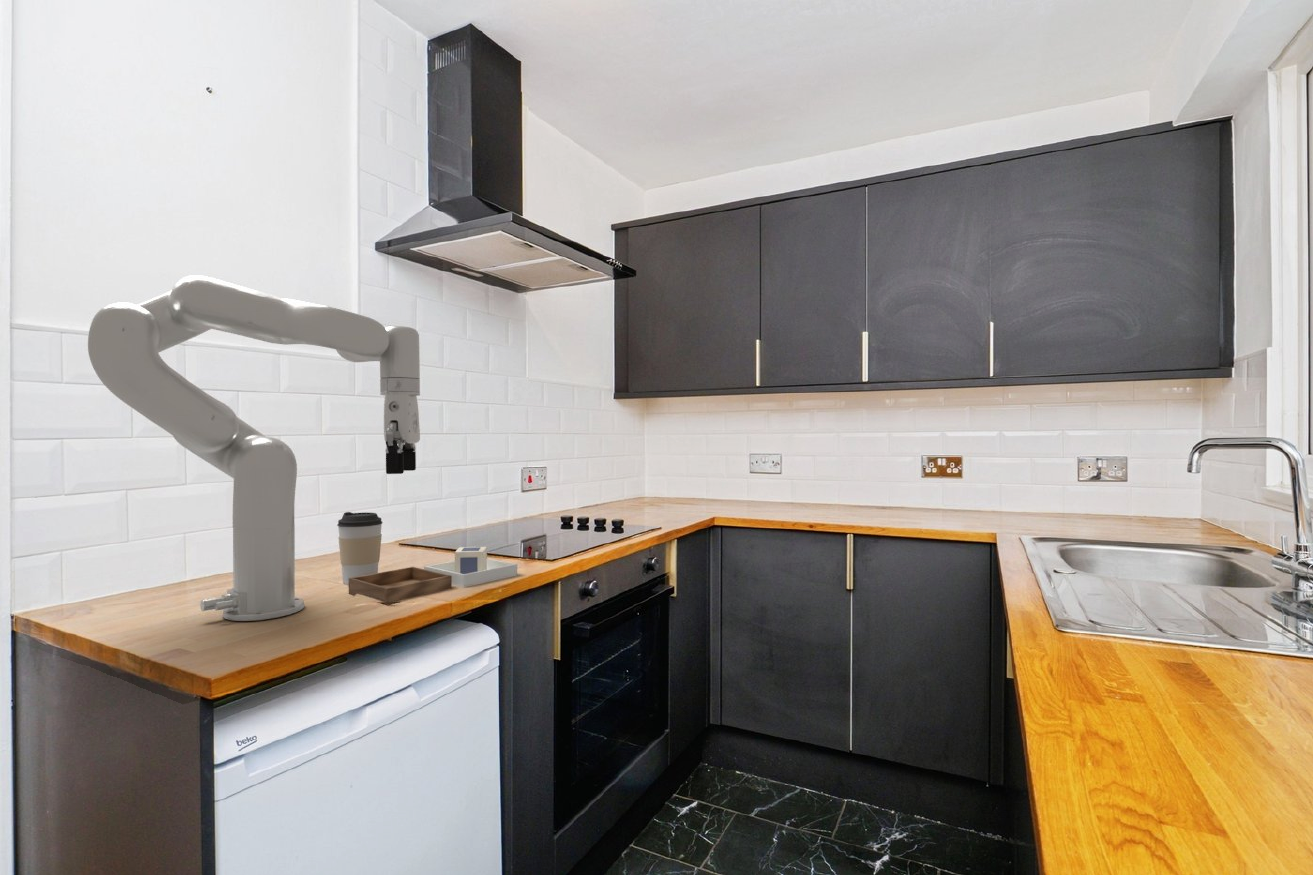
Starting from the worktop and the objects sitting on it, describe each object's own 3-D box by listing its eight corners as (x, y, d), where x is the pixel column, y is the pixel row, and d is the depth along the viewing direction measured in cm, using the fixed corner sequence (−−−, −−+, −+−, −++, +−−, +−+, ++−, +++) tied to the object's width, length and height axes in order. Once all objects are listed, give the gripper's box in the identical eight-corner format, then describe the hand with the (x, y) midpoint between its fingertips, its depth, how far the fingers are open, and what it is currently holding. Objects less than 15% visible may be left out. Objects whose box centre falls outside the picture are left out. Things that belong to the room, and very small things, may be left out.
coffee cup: (390, 576, 145) (390, 510, 144) (368, 586, 136) (368, 515, 135) (352, 575, 145) (352, 509, 145) (328, 585, 136) (328, 514, 136)
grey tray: (463, 590, 133) (463, 575, 133) (424, 580, 141) (424, 566, 141) (517, 577, 144) (517, 564, 144) (477, 569, 152) (477, 556, 152)
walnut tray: (386, 605, 121) (386, 588, 121) (348, 593, 129) (348, 578, 129) (451, 590, 132) (451, 575, 132) (412, 580, 141) (412, 566, 141)
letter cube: (483, 579, 140) (483, 551, 140) (454, 579, 139) (454, 551, 139) (486, 573, 146) (486, 546, 146) (459, 573, 145) (459, 546, 145)
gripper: (408, 385, 123) (409, 474, 123) (428, 390, 140) (430, 469, 140) (367, 385, 122) (368, 475, 122) (392, 390, 139) (394, 469, 139)
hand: (401, 472), depth 131 cm, fingers open, 9 cm apart
